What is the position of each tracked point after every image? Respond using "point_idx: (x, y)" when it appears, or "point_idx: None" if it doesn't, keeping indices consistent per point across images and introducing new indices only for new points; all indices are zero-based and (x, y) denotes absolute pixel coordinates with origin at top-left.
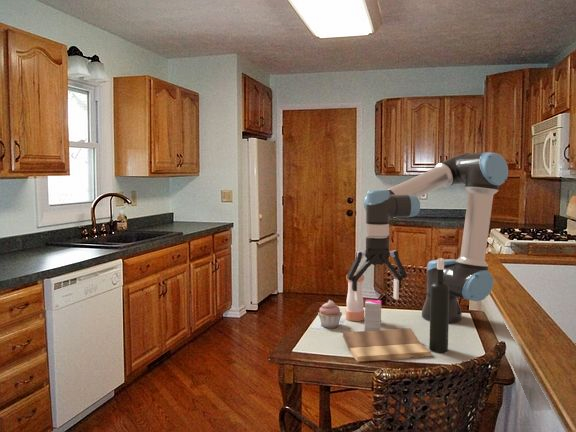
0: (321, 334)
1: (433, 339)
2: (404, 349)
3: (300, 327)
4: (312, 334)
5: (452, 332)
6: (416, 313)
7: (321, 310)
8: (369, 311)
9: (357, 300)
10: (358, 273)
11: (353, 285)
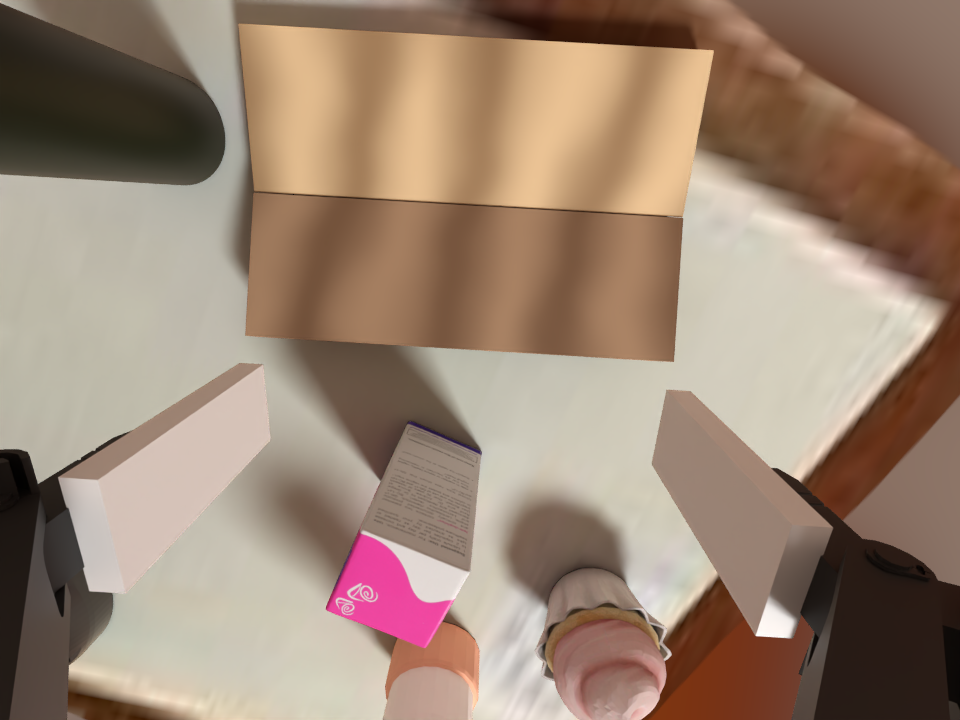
0: None
1: (168, 90)
2: (385, 105)
3: (731, 606)
4: None
5: (21, 377)
6: (126, 653)
7: (664, 665)
8: (447, 519)
9: (691, 396)
10: (944, 689)
11: (838, 517)
